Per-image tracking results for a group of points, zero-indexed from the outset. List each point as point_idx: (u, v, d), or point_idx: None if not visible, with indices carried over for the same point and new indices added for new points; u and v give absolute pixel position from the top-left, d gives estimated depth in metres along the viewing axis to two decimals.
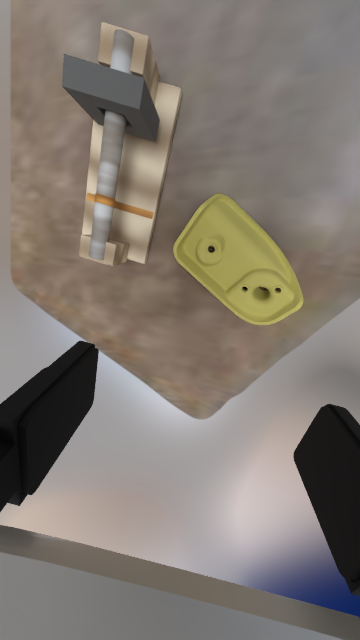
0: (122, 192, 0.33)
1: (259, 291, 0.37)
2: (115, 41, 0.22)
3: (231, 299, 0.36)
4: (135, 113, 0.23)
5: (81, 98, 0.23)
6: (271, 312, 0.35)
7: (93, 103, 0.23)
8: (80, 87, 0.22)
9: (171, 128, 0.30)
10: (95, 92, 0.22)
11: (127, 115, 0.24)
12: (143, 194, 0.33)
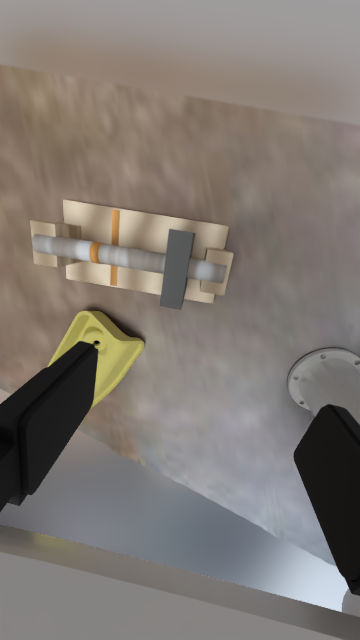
0: None
1: None
2: (218, 268, 0.25)
3: None
4: None
5: None
6: None
7: None
8: (169, 249, 0.22)
9: (184, 297, 0.34)
10: (167, 264, 0.23)
11: None
12: (130, 274, 0.33)
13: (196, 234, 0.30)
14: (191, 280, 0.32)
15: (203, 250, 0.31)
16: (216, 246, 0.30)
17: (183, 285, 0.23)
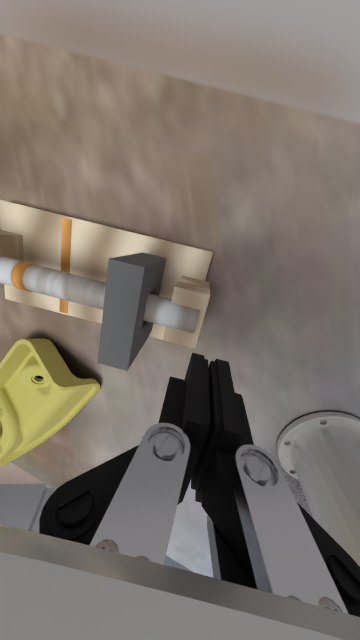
0: (81, 273, 0.25)
1: None
2: (187, 314, 0.18)
3: None
4: None
5: None
6: None
7: None
8: (110, 287, 0.15)
9: (152, 336, 0.26)
10: (107, 308, 0.15)
11: None
12: None
13: (169, 259, 0.23)
14: None
15: (178, 280, 0.24)
16: (195, 276, 0.23)
17: (130, 339, 0.16)
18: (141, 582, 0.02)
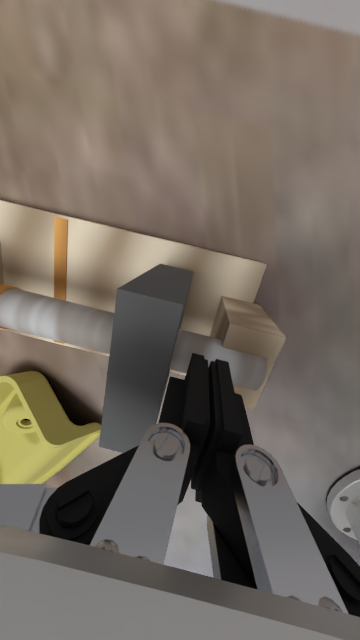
0: (82, 292, 0.18)
1: None
2: (250, 366, 0.12)
3: None
4: None
5: None
6: None
7: None
8: (119, 337, 0.08)
9: (177, 372, 0.20)
10: (114, 370, 0.09)
11: None
12: None
13: (205, 273, 0.17)
14: None
15: (215, 301, 0.17)
16: (239, 297, 0.17)
17: (153, 416, 0.10)
18: (141, 582, 0.02)
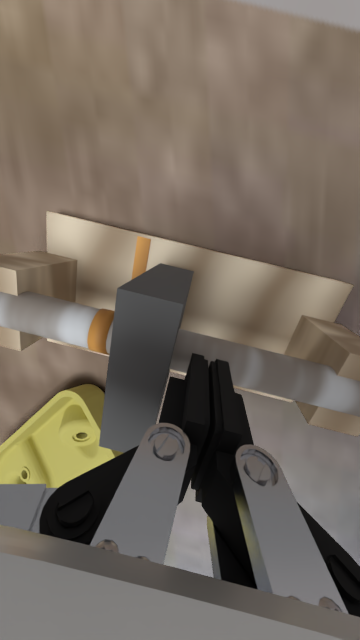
0: None
1: None
2: None
3: (14, 448, 0.25)
4: None
5: None
6: None
7: None
8: (119, 336, 0.08)
9: (245, 389, 0.20)
10: (114, 369, 0.09)
11: None
12: None
13: (287, 293, 0.16)
14: None
15: (294, 320, 0.17)
16: (320, 316, 0.17)
17: (153, 416, 0.10)
18: (141, 582, 0.02)
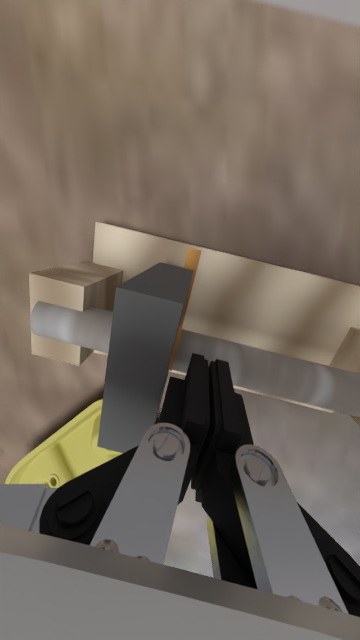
0: (201, 321, 0.18)
1: None
2: None
3: (42, 455, 0.24)
4: None
5: None
6: None
7: None
8: (118, 336, 0.08)
9: (286, 399, 0.20)
10: (113, 369, 0.09)
11: None
12: None
13: (338, 305, 0.16)
14: None
15: (343, 332, 0.17)
16: None
17: (152, 416, 0.09)
18: (141, 582, 0.02)
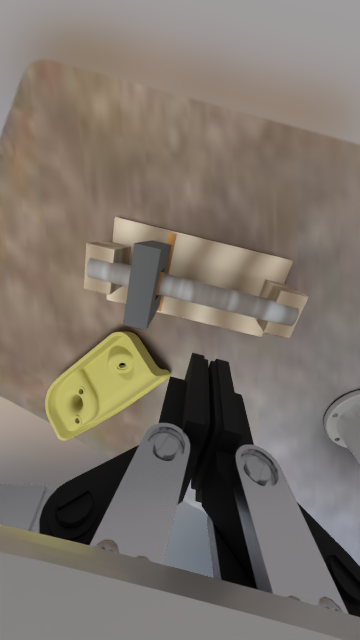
0: None
1: None
2: (290, 312, 0.23)
3: (72, 375, 0.36)
4: None
5: None
6: (58, 410, 0.36)
7: None
8: (134, 265, 0.20)
9: (232, 329, 0.32)
10: (132, 281, 0.20)
11: None
12: (177, 301, 0.31)
13: (256, 266, 0.28)
14: None
15: (261, 282, 0.29)
16: (276, 280, 0.28)
17: (149, 305, 0.21)
18: (141, 582, 0.02)
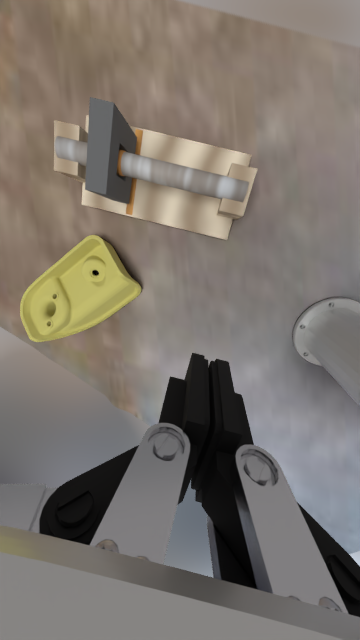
0: None
1: None
2: (241, 183, 0.25)
3: (48, 282, 0.38)
4: None
5: None
6: (32, 315, 0.38)
7: None
8: (91, 121, 0.22)
9: (199, 232, 0.33)
10: (90, 140, 0.23)
11: None
12: (146, 203, 0.33)
13: (217, 162, 0.30)
14: (208, 213, 0.32)
15: None
16: None
17: (107, 165, 0.23)
18: (141, 582, 0.02)
